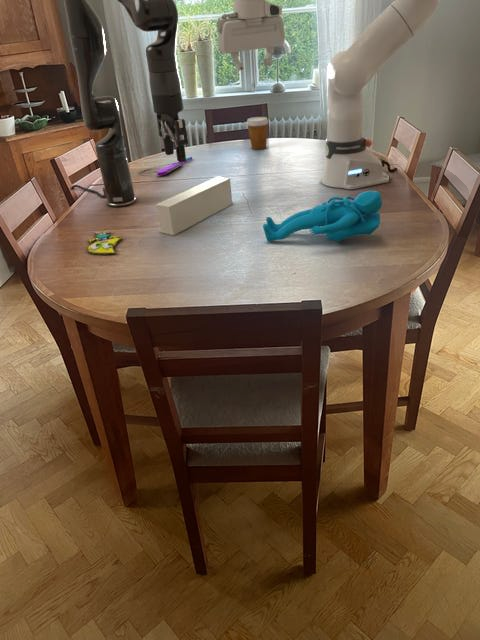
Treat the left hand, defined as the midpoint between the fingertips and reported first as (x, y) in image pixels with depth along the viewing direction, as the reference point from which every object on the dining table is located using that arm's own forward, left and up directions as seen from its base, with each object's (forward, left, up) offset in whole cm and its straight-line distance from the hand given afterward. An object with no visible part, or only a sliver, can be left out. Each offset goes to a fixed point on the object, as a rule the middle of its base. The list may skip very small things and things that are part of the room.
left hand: (175, 157), depth 128 cm
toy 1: (-9, -22, -21) cm, 31 cm away
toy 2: (+34, +20, -21) cm, 44 cm away
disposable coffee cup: (-55, +75, -21) cm, 95 cm away
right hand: (-5, +33, +17) cm, 38 cm away
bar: (-5, +8, -21) cm, 23 cm away
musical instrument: (-62, +31, -21) cm, 72 cm away
